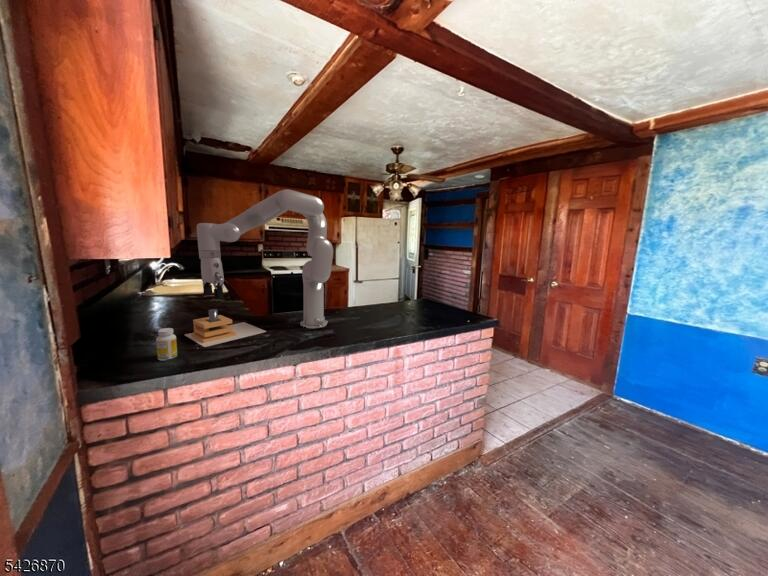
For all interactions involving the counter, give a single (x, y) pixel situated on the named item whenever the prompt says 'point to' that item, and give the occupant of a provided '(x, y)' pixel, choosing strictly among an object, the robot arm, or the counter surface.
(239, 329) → the mat
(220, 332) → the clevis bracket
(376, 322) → the counter surface
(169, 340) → the supplement bottle
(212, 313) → the pin
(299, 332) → the counter surface
